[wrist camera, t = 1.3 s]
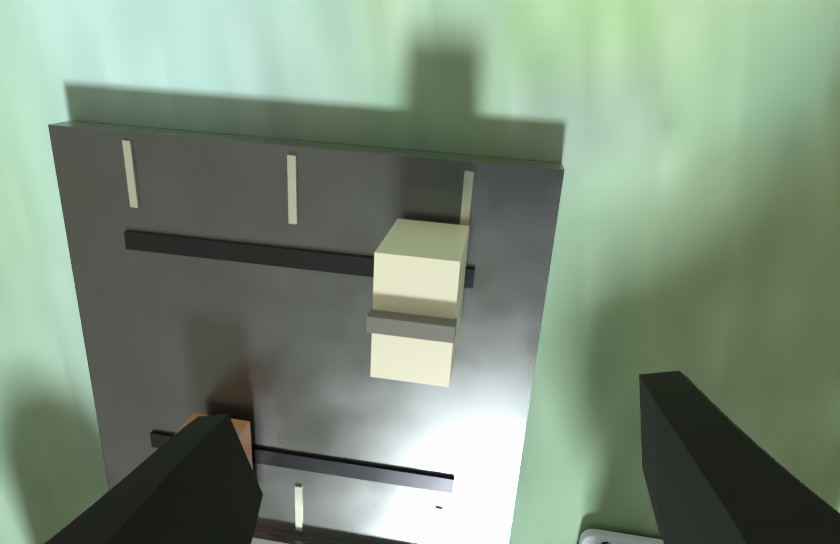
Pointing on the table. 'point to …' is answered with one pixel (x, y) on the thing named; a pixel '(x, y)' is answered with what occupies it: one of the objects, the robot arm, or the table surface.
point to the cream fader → (417, 301)
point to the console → (307, 320)
